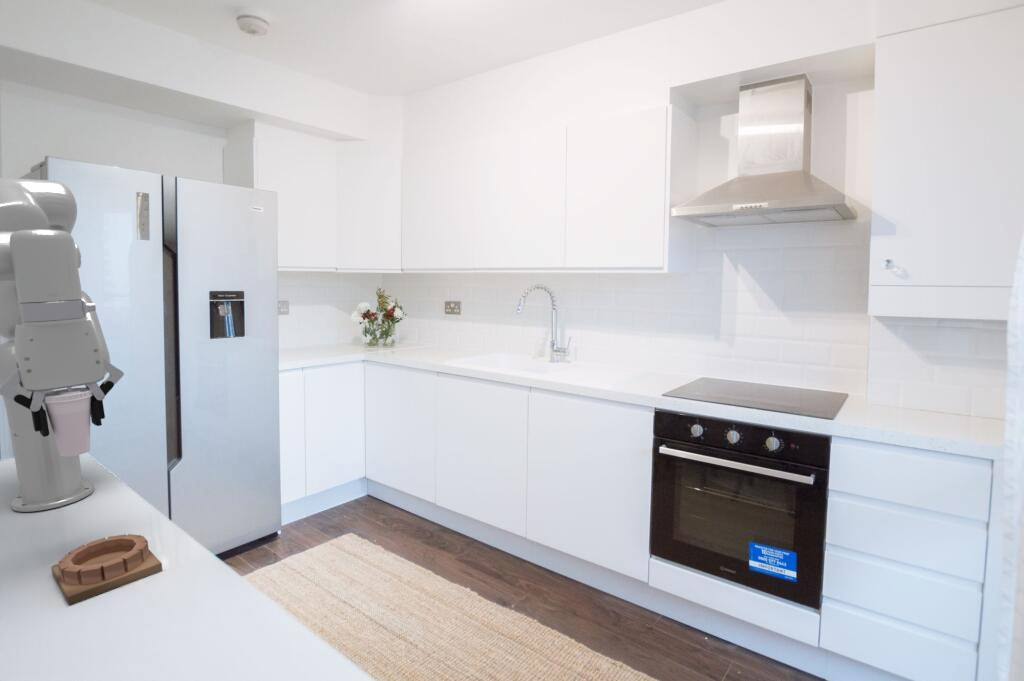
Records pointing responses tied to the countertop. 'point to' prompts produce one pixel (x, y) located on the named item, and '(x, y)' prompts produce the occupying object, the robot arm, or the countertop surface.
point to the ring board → (104, 566)
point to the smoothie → (70, 419)
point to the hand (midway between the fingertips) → (71, 428)
